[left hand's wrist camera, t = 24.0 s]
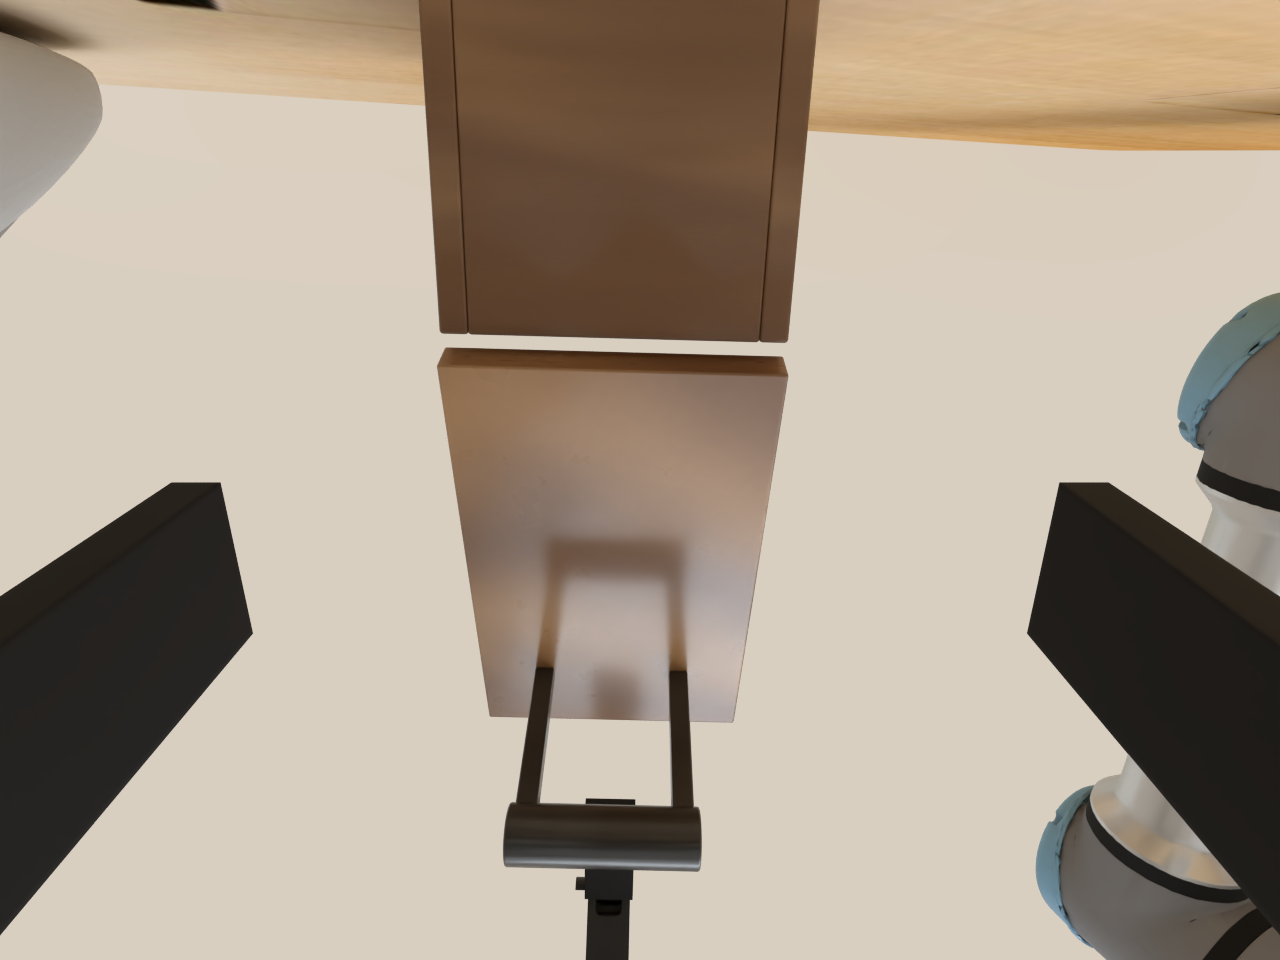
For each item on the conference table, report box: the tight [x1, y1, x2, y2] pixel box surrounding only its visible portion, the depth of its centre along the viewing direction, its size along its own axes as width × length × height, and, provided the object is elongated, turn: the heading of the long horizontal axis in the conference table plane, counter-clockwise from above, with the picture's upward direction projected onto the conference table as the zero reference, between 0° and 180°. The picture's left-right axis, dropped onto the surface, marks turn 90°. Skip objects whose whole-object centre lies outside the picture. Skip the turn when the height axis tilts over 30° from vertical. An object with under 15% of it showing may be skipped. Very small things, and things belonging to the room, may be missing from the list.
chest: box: [419, 0, 820, 343], centre depth 28 cm, size 16×10×10 cm, turn 0°
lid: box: [437, 348, 788, 872], centre depth 24 cm, size 16×10×8 cm
